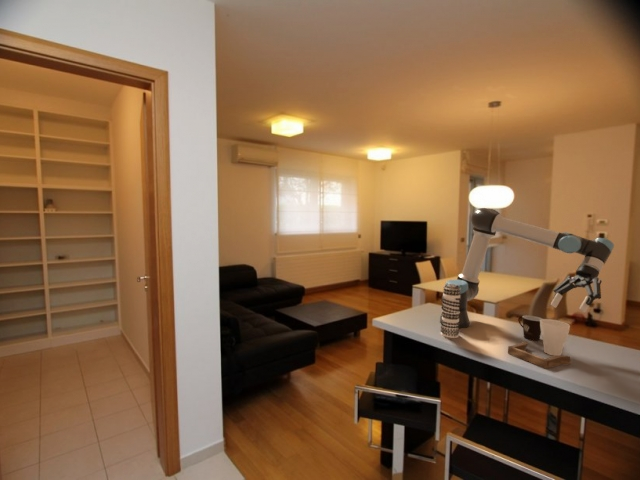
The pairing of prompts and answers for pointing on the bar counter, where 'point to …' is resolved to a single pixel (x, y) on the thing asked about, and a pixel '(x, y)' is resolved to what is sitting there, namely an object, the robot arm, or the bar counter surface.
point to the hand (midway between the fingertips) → (566, 308)
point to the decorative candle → (450, 311)
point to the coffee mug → (531, 327)
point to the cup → (554, 335)
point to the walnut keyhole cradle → (545, 363)
